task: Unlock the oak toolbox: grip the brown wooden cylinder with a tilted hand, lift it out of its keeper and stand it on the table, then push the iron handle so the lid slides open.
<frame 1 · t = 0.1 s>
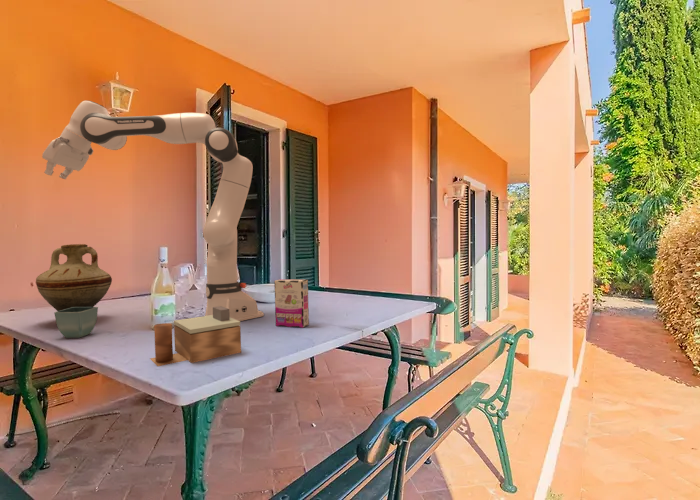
hand: (55, 176, 140), 54 cm above the table, tool tilted 30°, fingers open, 8 cm apart
lid: (206, 317, 107), point 10 cm above the table, slide at 0.0 cm
brown wooden cylinder: (164, 360, 100), point 1 cm above the table, touching crate
crate: (207, 355, 107), on the table
flower pot: (77, 336, 130), on the table
amphora: (77, 322, 151), on the table
candy bar box: (292, 326, 140), on the table
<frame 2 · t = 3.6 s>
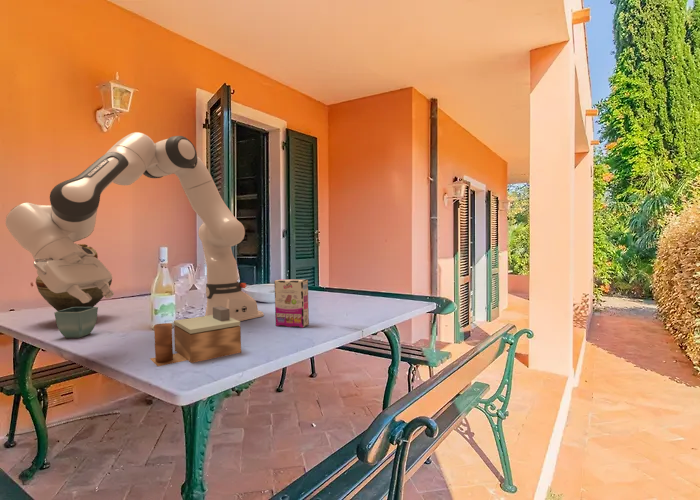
hand: (100, 298, 99), 17 cm above the table, tool tilted 40°, fingers open, 8 cm apart
nothing on the table moved.
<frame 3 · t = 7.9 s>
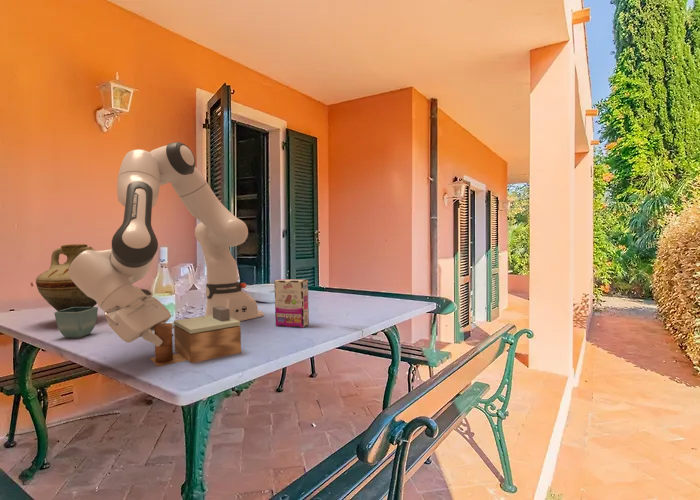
hand: (166, 341, 100), 6 cm above the table, tool tilted 45°, fingers closed on brown wooden cylinder, 4 cm apart
brown wooden cylinder: (164, 360, 100), point 1 cm above the table, touching crate, gripper
everything else where it was.
when the fingers open (6 cm above the table, at t = 13.2 s): brown wooden cylinder drops 1 cm, on the table.
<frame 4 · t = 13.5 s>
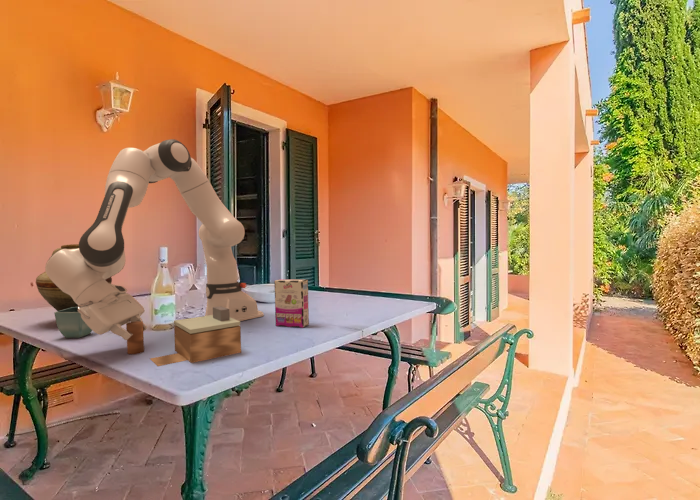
hand: (137, 333, 107), 6 cm above the table, tool tilted 45°, fingers open, 7 cm apart
brown wooden cylinder: (135, 355, 108), on the table
everything else where it was.
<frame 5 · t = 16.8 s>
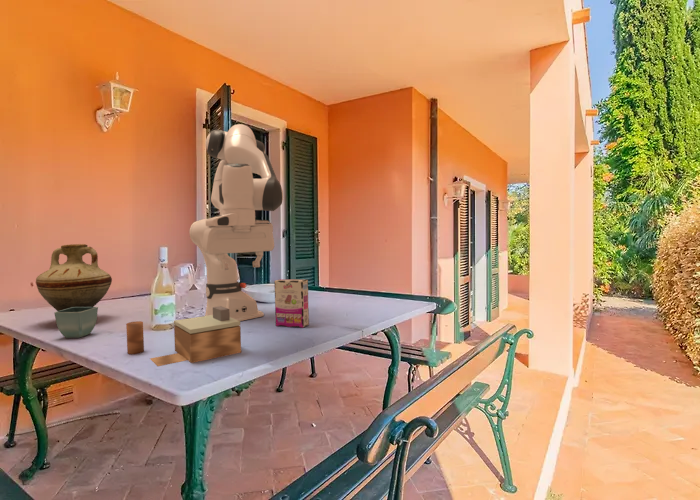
hand: (240, 268, 113), 23 cm above the table, tool pointing down, fingers open, 8 cm apart
nothing on the table moved.
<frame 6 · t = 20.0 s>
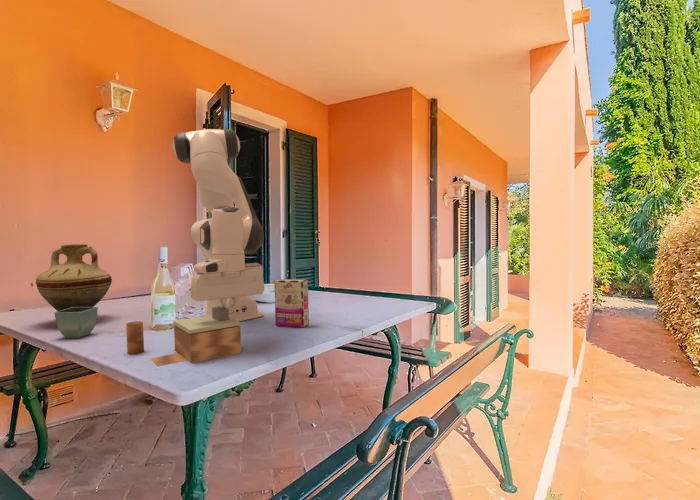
hand: (229, 313, 111), 10 cm above the table, tool pointing down, fingers closed
lid: (205, 317, 106), point 10 cm above the table, slide at 0.2 cm, touching gripper
everything else where it was.
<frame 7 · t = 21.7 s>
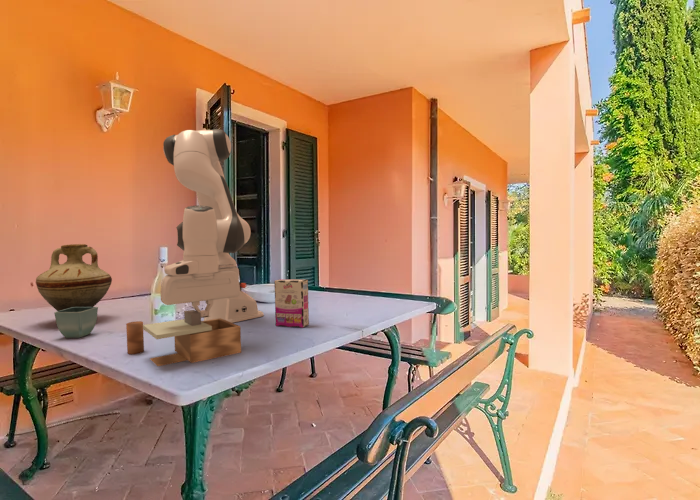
hand: (203, 317, 106), 10 cm above the table, tool pointing down, fingers closed
lid: (176, 321, 102), point 10 cm above the table, slide at 7.7 cm, touching gripper
everything else where it was.
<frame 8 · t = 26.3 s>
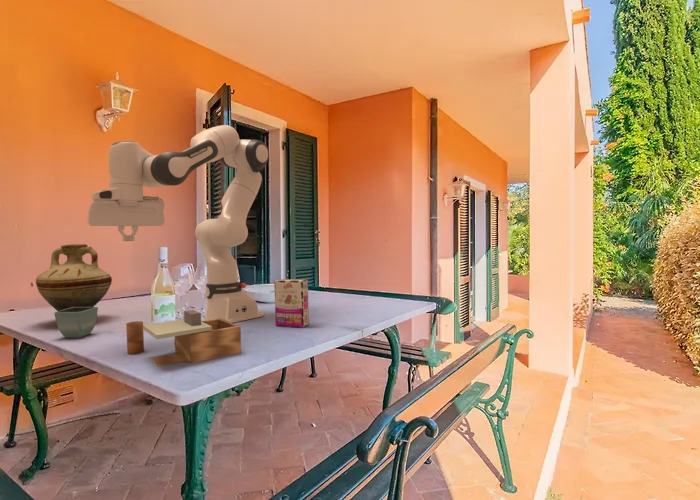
hand: (128, 241, 119), 31 cm above the table, tool pointing down, fingers closed
lid: (176, 321, 102), point 10 cm above the table, slide at 7.7 cm
everything else where it was.
at the end: lid slide at 7.7 cm; brown wooden cylinder inside the target area (1.8 cm from its centre), on the table; brown wooden cylinder tilted 0° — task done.
